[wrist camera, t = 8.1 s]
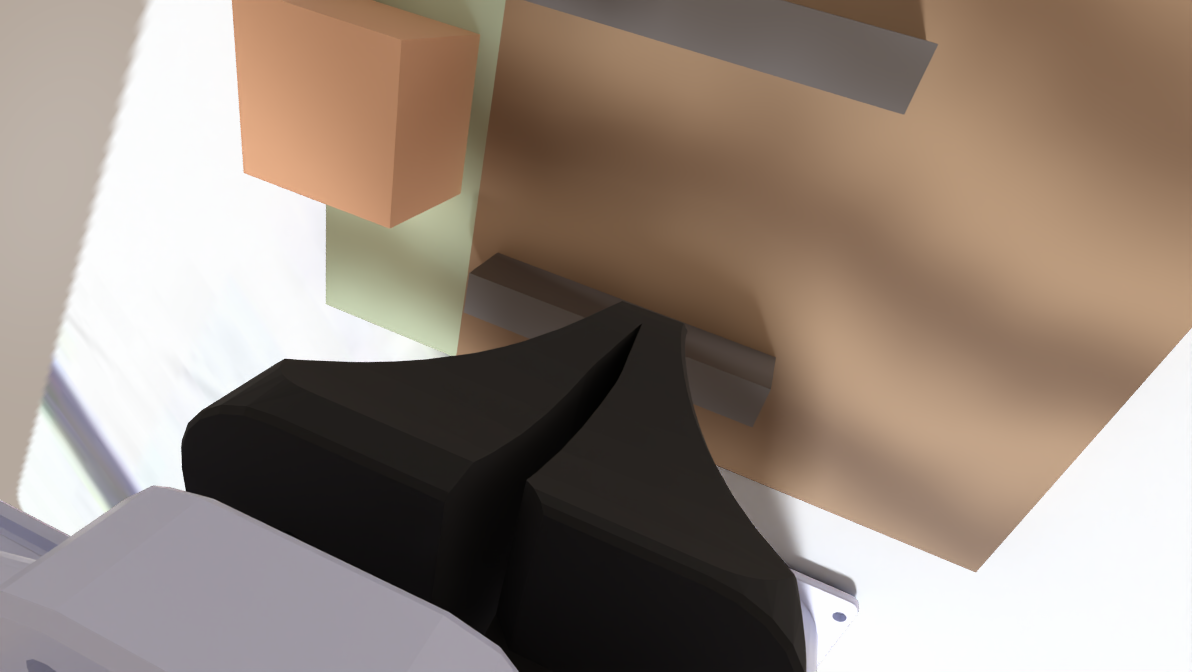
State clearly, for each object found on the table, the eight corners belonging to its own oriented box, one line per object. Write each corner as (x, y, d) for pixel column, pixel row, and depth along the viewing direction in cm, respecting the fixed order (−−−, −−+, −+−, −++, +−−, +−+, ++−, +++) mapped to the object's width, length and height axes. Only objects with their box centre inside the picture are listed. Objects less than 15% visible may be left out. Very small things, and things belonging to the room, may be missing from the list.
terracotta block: (460, 193, 21) (389, 228, 18) (334, 147, 22) (243, 172, 18) (480, 34, 18) (401, 39, 15) (336, -12, 19) (230, -16, 16)
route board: (970, 550, 22) (988, 621, 19) (342, 294, 26) (290, 324, 24) (1456, -22, 12) (1614, -30, 10) (352, -278, 17) (267, -330, 14)
